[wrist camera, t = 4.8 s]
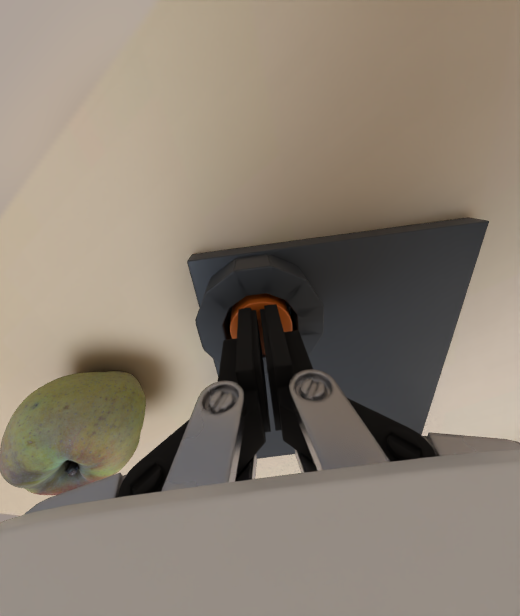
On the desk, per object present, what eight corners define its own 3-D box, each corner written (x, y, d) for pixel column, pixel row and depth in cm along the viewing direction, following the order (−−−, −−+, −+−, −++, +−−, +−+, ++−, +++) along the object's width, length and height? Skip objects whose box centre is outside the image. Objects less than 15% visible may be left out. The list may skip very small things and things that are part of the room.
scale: (191, 254, 12) (177, 274, 9) (468, 217, 12) (531, 227, 9) (240, 445, 20) (240, 487, 17) (411, 423, 20) (437, 461, 17)
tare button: (227, 290, 12) (224, 306, 10) (284, 282, 12) (290, 298, 10) (236, 337, 13) (235, 358, 11) (288, 330, 13) (294, 350, 11)
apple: (16, 374, 15) (-106, 478, 10) (129, 334, 14) (61, 424, 9) (81, 431, 18) (13, 535, 12) (179, 400, 17) (150, 499, 12)
